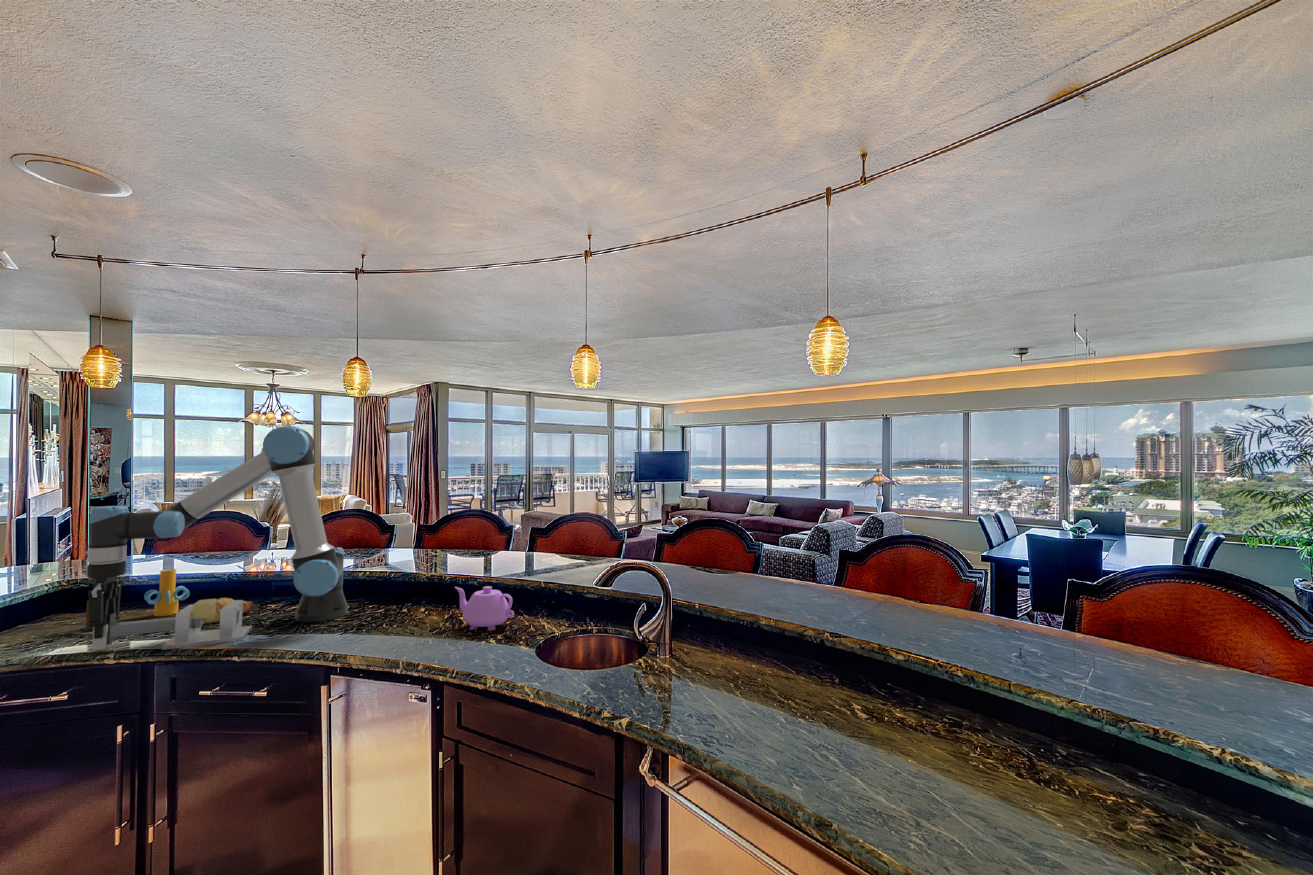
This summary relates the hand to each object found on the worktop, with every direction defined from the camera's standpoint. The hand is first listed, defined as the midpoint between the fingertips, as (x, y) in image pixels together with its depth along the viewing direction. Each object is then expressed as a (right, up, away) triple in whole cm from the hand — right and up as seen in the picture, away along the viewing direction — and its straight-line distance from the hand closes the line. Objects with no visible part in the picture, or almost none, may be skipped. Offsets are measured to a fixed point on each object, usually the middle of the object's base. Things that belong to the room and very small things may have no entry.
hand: (103, 646), depth 146 cm
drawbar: (+9, +1, +4) cm, 10 cm away
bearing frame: (+21, -2, +10) cm, 23 cm away
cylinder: (-15, -3, +35) cm, 38 cm away
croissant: (+7, -3, +31) cm, 31 cm away
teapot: (+98, -3, +24) cm, 101 cm away
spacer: (+20, +5, +10) cm, 23 cm away
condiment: (-21, -2, +18) cm, 28 cm away
